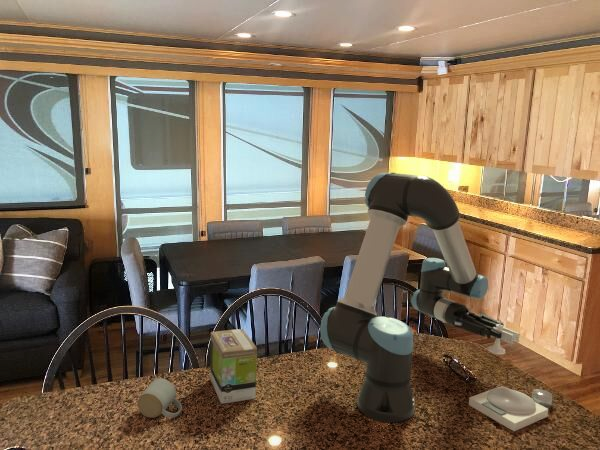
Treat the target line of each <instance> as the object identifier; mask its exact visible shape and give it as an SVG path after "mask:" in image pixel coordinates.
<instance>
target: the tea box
mask: <svg viewBox="0 0 600 450" xmlns="http://www.w3.org/2000/svg"><path fill="white" fill-rule="evenodd" d="M209 342H210V345H209V346H210V348H209V349H210V353H209V380H210V382H211V384H212V386H213V388H214V390H215V392H216V395H217V398H218V400H219V402H220V404H230V403H235V402H243V401H248V400H254V399H256V393H257V371H258V370H257V369H258V367H257V366H258V365H257V363H258V348H257V346H256V344H255V343H254V342H253V340H252V338H250V337H249V335H248V334H247V332H246V331H245V330H244V329H243V328H239V329H238V328H237V329H229V330H218V331H211V332H210V341H209Z"/></svg>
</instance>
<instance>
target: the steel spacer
mask: <svg viewBox="0 0 600 450" xmlns="http://www.w3.org/2000/svg"><path fill="white" fill-rule="evenodd" d="M531 398H532V399H533V400H534V402H536V403H538V404H540V405H542V406H544V407H545V408H547V409H550V408H551V407H552V403H553V394H552V393H551V392H550V391H548V390H546V389H542V388H535V389H533V390H532V394H531Z"/></svg>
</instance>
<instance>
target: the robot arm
mask: <svg viewBox="0 0 600 450" xmlns="http://www.w3.org/2000/svg"><path fill="white" fill-rule="evenodd" d="M364 197H365V199H364V202H365V205H366V207H367V208H368V209H367V214H368V215H369V223H368V224H367V225H368V226H367V228H366V232H365V235H364V237H363V240H362V244H361V247H360V249H359V252H358V256H357V259H356V261H355V264H354V267H353V271H352V273H351V277H350V280H349V281H348V285H347V289H346V292H345V294H344V296H343V297H342V298H340V299H339V300H337V301H336V305H335V306H333V307H330V308H328V309H327V311H326V312H324V314H323V316H322V318H321V321H320V322H321V323H320V329H319V330H320V336H321V339H322V342H323V344H324V345H325V346H326V348H329V349H330V350H332V351H334V352H335V353H337V354H341V355H343V356H347V357H348V358H350V359H354V360H355V361H359V362H360V363H363V364H365V376H364V380H363V382H362V384H361V388H360V389H359V391H358V393H357V401H356V405H357V408H358V410H359V411H360V412H361V413H362V414H363V415H365V416H366V417H368V418H370V419H372V420H375V421H378V422H383V423H401V422H405V421H408V420H409V419H411V418H412V417H413V416H414V414H415V411H416V400H415V397H414V394H413V390H412V386H411V373H412V365H413V364H412V362H413V353H414V349H415V348H414V332H413V331H412V329H411V327H410V326H409V325H408V324H406V323H405V322H404V321H401V320H399V319H397V318H394V317H387V316H377V315H378V314H377V312H376V310H375V304H376V300H377V298H378V294H379V291H380V287H381V285H382V282H383V279H384V276H385V273H386V270H387V266H388V263H389V260H390V257H391V254H392V251H393V249H394V245H395V242H396V239H397V235H398V232H399V229H401V227H404V226H405V225H407V221H408V219H409V217H414V218H419V219H422V220H423V221H424V222H425V224H426V226H427V227H428V228H429V229H430V230H432V233H433V234H434V237H435V239H436V241H437V244H438V247H439V249H440V251H441V254H442V256H443V259H441V258H437V257H426V258H424V259H423V261H422V264H421V270H420V272H421V274H420V284H419V289H417V290H416V291H414V293H413V296H412V297H411V300H410V301H411V302H410V303H411V306H412V307H413V309H415V310H417V311H418V312H420V313H422V314H424V315H426V316H429V317H432V318H434V319H437V320H439V321H441V322H442V323H445V324H448V325H450V326H452V327H455V328H459V329H462V330H465V331H468V332H470V333H473V334H476V335H478V336H481V337H485V336H486V338H487V339H491V337H493V338H495V339H496V338H497V339H500V341H503V342H505V343H508V344H509V345H513V344H514V343H519V342H520V336H521V333H520V332H518V331H515V330H512V329H511V328H507V327H505V326H504V322H503V323H501V325H503V328H502V330H500V329H498V328H496V325H497V324H499V323H497V321H498V320H496V319H495V318H493V317H491V316H487V315H486V314H485V313H483V312H482V313H480V314H476V313H474V312H471V311H469V309H468V307H467V306H466V305H465V304H462V303H460V302H457V301H454V300H451V299H449V298H446V297H444V296H443V292H444V291H446V292H450V293H454V294H456V295H461V296H465V297H468V298H472V299H473V298H474V299H477V300H481V299H483V298H485V296H486V294H487V292H488V290H489V280H488V278H487V277H486V276H485V275H482V274H478V273H477V271H476V268H475V264H474V263H473V259H472V256H471V253H470V251H469V247H468V245H467V242H466V239H465V236H464V234H463V231H462V228H461V225H460V223H459V219H460V218H461V217H460V215H461V214H460V211H459V207H458V205H457V203H456V201H455V199H454V198H453V196H452V195H451V194H450V192H449V191H448V190H447V189H446V188H445V187H444V186H443V185H442V184H441V183H440V182H438V180H435V179H433V178H431V177H429V176H425V175H416V174H405V173H397V172H381V173H378V174H376V175H374V176H373V177H372V178H371V179H370V180H369V182H368V183H367V186H366V188H365V192H364Z"/></svg>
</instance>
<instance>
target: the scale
mask: <svg viewBox="0 0 600 450" xmlns="http://www.w3.org/2000/svg"><path fill="white" fill-rule="evenodd" d="M468 399H469V400H468V406H470V407H472V408H473V409H474V410H476V411H477V412H480V413H482V414H483V415H485V416H487V417H488V418H491V419H492V420H494V421H495V422H497V423H498V424H501V425H502V426H504V428H507V429H508V430H511V431H512V432H517V431H519V430H520V429H523V428H525V427H527V426H529V425H532V424H534V423H537V422H538V421H541V420H542V419H545V418H548V414H549V408H545V407H544V406H542V405H540V404H538V403H536V402H534V400H533V399H532V397H530V396H529V395H527V394H526V393H524V392H520V391H518V390H515V389H512V388H511V389H510V388H508V387H506V386H504V385H500V386H498V387H495V388H492V389H489V390H487V391H484V392H480V393H478V394H476V395H472V396H470V397H469V398H468Z"/></svg>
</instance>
